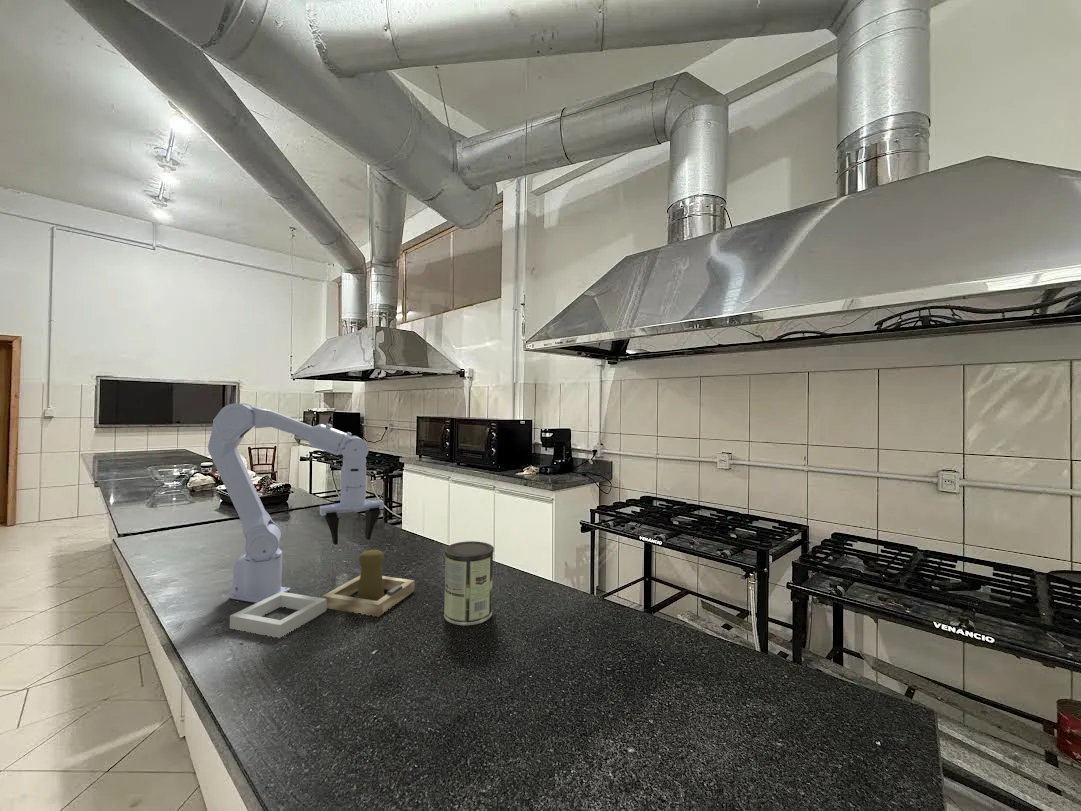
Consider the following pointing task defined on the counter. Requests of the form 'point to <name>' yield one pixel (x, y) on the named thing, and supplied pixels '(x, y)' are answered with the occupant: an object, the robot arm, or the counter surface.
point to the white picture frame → (255, 623)
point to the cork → (371, 575)
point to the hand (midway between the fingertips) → (351, 541)
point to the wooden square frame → (369, 607)
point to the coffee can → (468, 582)
